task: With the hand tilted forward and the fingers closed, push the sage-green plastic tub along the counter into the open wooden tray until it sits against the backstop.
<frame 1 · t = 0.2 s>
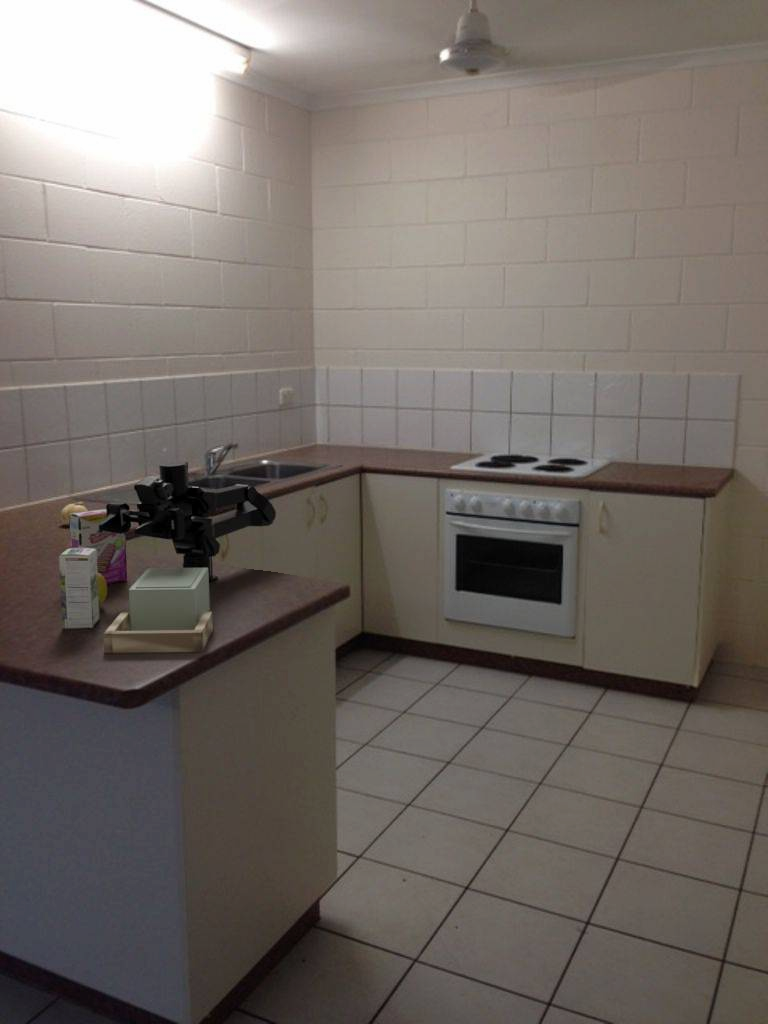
hand: (117, 529, 183), 17 cm above the worktop, tool horizontal, fingers open, 9 cm apart
wooden tray: (164, 634, 171), on the worktop
lemon: (94, 609, 187), on the worktop
syrup box: (82, 625, 177), on the worktop
tub: (172, 623, 178), on the worktop
onion: (75, 525, 271), on the worktop
candy bar box: (101, 584, 206), on the worktop
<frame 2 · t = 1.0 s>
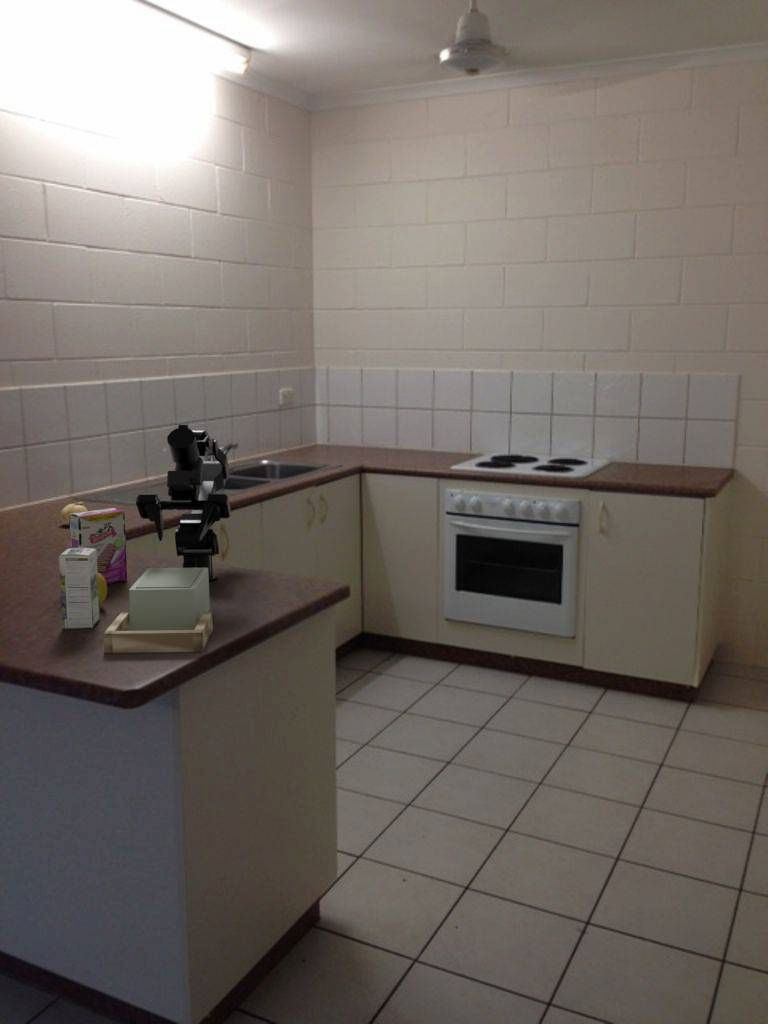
hand: (179, 539, 187), 14 cm above the worktop, tool tilted 45°, fingers open, 8 cm apart
nothing on the worktop moved.
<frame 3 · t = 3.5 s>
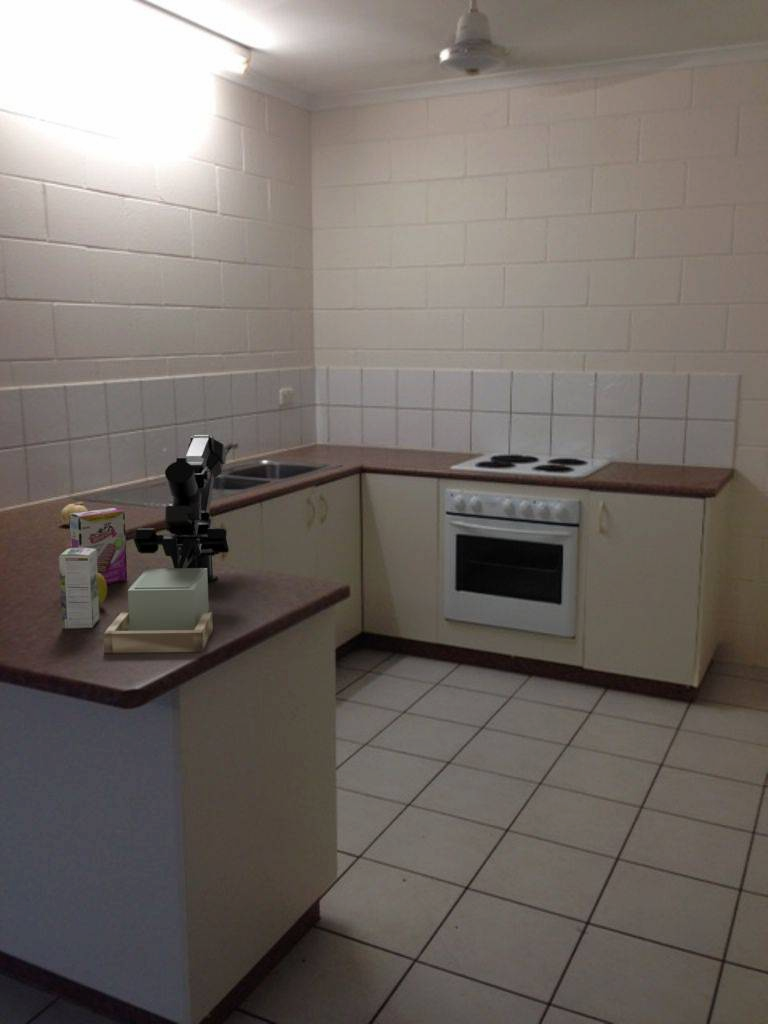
hand: (178, 575, 184), 7 cm above the worktop, tool tilted 45°, fingers closed
nothing on the worktop moved.
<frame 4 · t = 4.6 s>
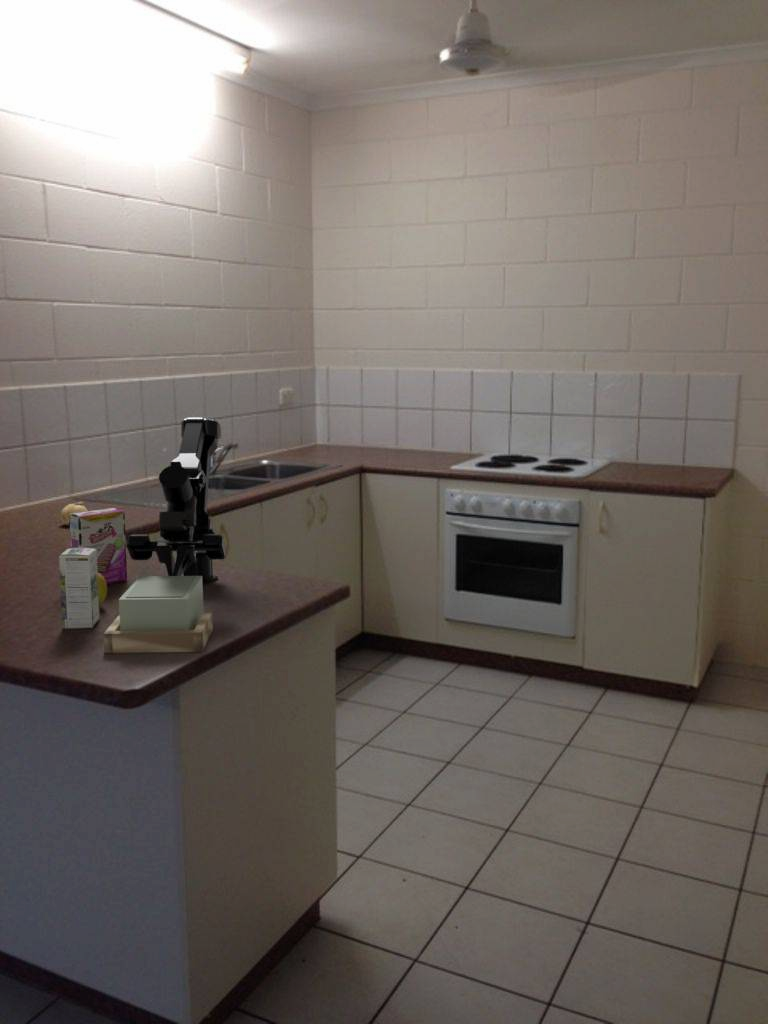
hand: (172, 583, 178), 7 cm above the worktop, tool tilted 45°, fingers closed
tub: (164, 633, 171), on the worktop
everything else where it was.
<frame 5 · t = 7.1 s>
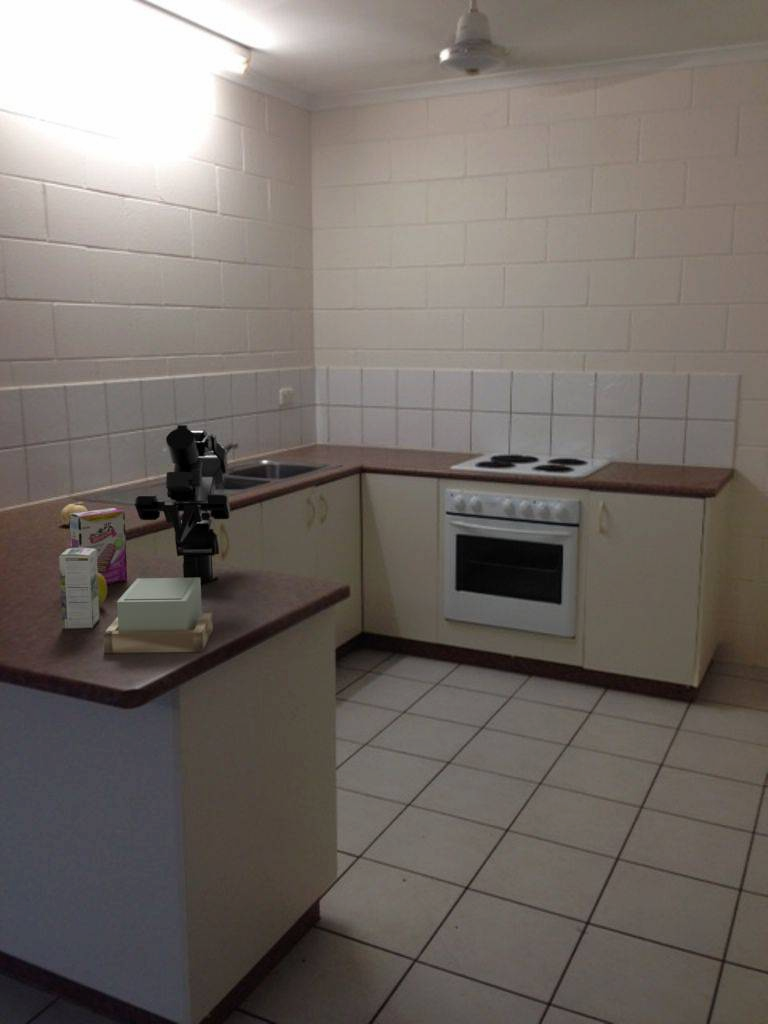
hand: (179, 541, 186), 14 cm above the worktop, tool tilted 45°, fingers closed
tub: (162, 636, 170), on the worktop
everything else where it was.
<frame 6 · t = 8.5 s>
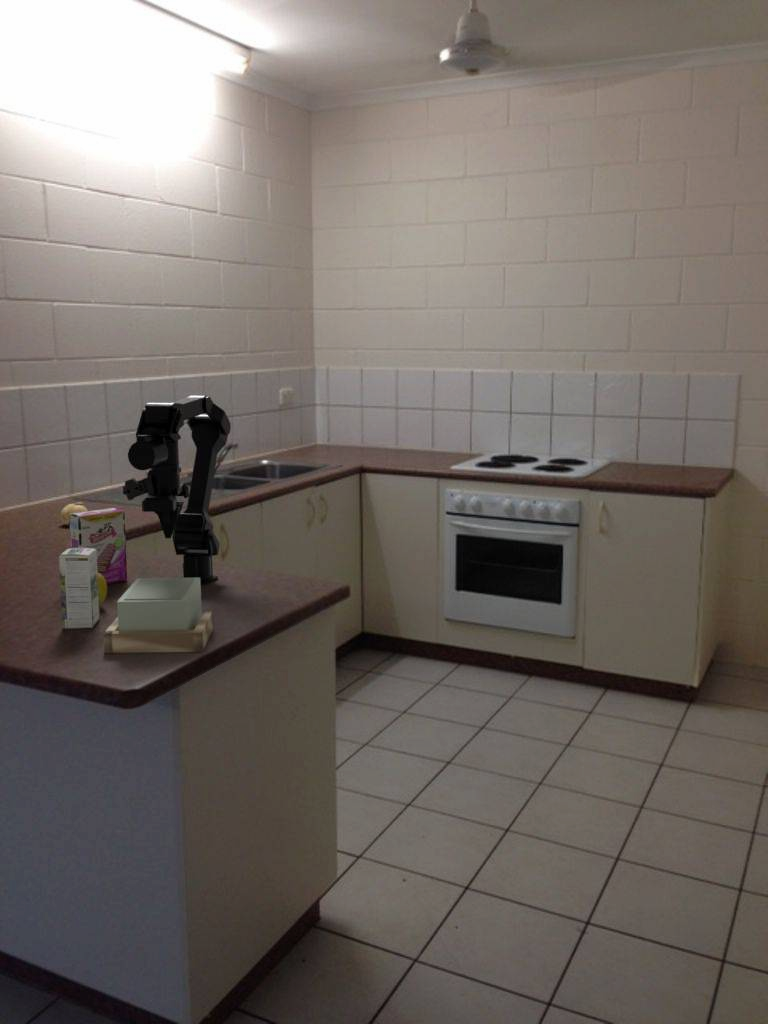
hand: (168, 537, 192), 13 cm above the worktop, tool pointing down, fingers closed
nothing on the worktop moved.
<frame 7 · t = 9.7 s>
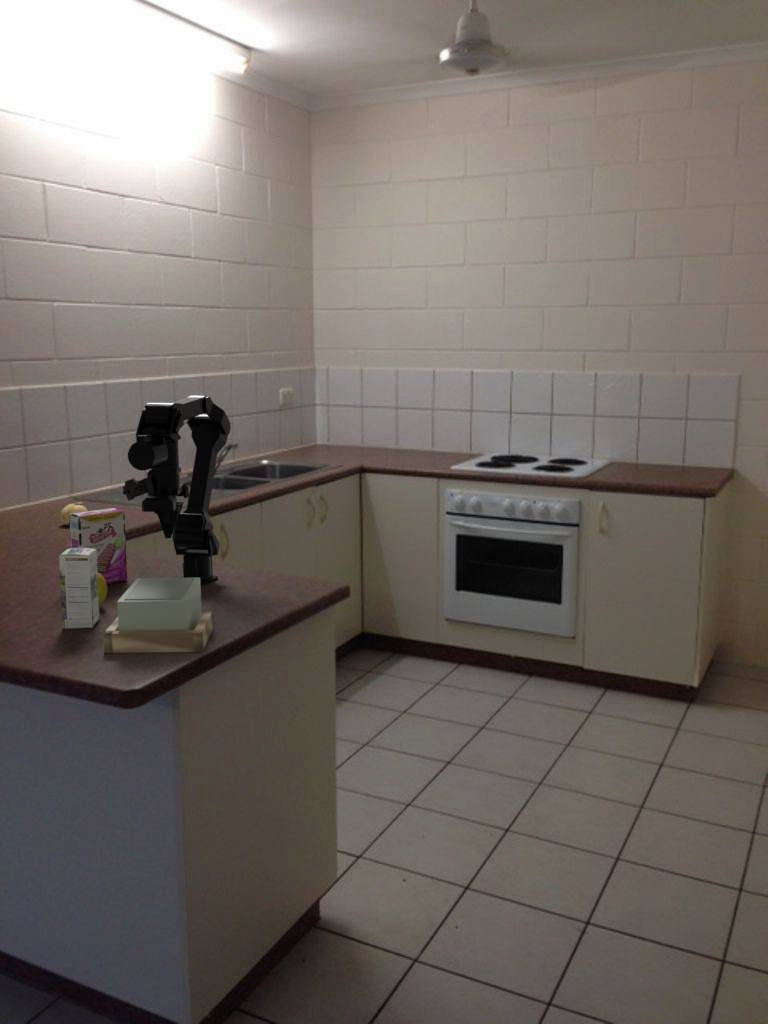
hand: (168, 538, 192), 13 cm above the worktop, tool pointing down, fingers closed
nothing on the worktop moved.
at the end: tub 1.0 cm off-centre on the wooden tray, point 0.0 cm above the wooden tray's base; tub tilted 0°; tub moved 7.8 cm from its start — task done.
